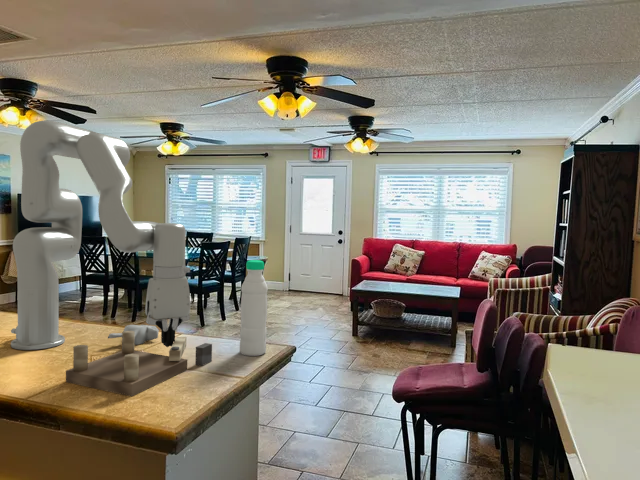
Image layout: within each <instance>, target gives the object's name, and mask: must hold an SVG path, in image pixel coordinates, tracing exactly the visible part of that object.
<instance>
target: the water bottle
mask: <svg viewBox="0 0 640 480" xmlns="http://www.w3.org/2000/svg"><path fill="white" fill-rule="evenodd" d="M245 268H246V271H247V275H246V276H245V277H244V281H243V283H242V284H241V287H240V291H241V297H240V298H241V300H240V330H239V332H240V333H239V335H240V336H239V337H240V340H239V341H240V342H239V352H240V354H241V355H243V356H247V357H258V356H262V355H264V354H265V353H266V351H267V340H266V338H267V321H268V320H267V318H268V284H267V282H266V279H265V277H264V275H263V272H264V269H265V262H264V261H263V260H260V259H259V260H257V259H251V260H247V261H246V263H245Z"/></svg>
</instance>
